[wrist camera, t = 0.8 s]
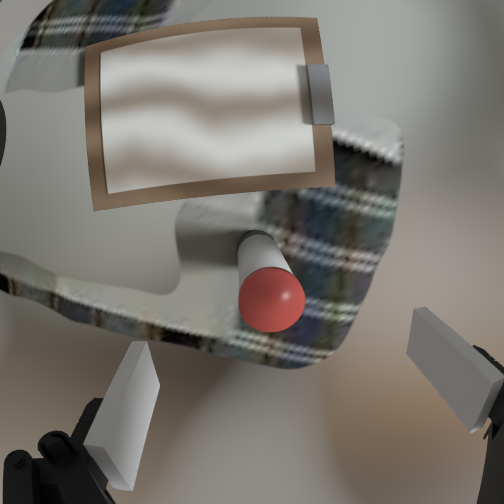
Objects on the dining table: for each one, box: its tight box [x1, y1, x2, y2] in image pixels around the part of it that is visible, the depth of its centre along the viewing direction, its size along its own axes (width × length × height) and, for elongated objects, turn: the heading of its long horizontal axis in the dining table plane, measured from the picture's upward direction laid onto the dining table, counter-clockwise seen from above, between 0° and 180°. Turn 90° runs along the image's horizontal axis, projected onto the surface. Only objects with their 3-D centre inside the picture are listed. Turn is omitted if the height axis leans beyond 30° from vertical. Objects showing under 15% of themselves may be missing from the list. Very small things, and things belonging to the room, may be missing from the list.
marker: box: [237, 230, 305, 332], centre depth 26 cm, size 4×4×13 cm
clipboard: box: [85, 17, 335, 211], centre depth 27 cm, size 18×24×3 cm
